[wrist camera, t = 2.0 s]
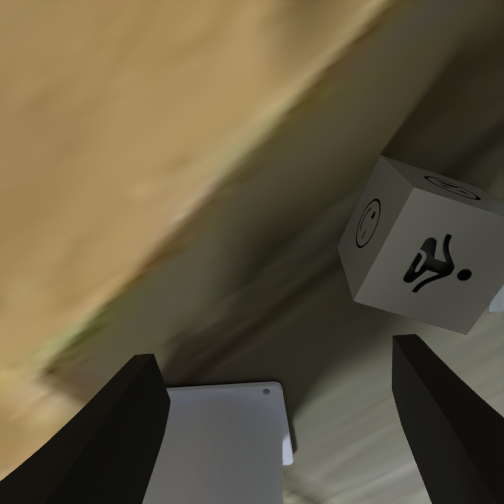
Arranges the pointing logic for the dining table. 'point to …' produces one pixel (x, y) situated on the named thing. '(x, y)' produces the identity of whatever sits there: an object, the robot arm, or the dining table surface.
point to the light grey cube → (424, 246)
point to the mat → (497, 302)
